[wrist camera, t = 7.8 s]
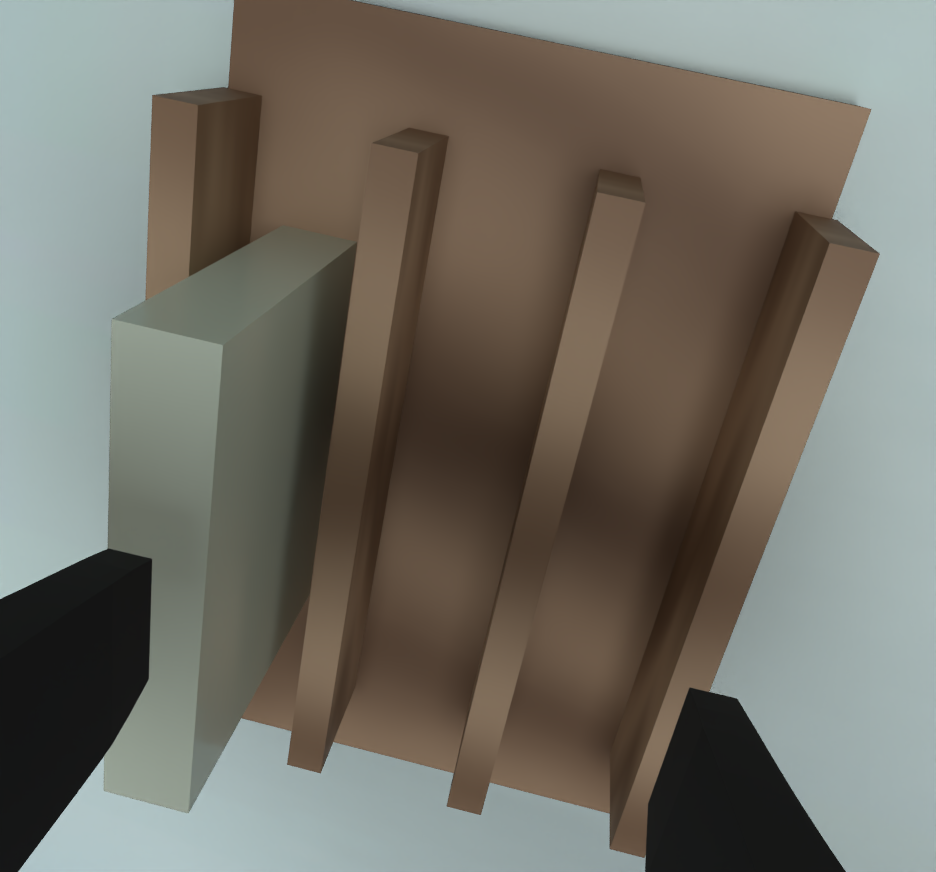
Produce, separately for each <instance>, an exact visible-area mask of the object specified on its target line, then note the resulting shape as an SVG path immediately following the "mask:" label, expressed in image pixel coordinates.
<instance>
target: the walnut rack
mask: <svg viewBox="0 0 936 872" xmlns="http://www.w3.org/2000/svg"><path fill="white" fill-rule="evenodd" d="M870 112H871V109H868V108H864V107H860V106H856V105H851V104H846V103H842V102H837V101H832V100H827V99H822V98H818V97H813V96H808V95H803V94H798V93H794V92H789V91H784V90H779V89H774V88H770V87H765V86H760V85H755V84H751V83H746V82H741V81H736V80H731V79H727V78H722V77H717V76H712V75H707V74H703V73H698V72H693V71H688V70H683V69H679V68H674V67H669V66H664V65H660V64H655V63H650V62H645V61H640V60H636V59H631V58H626V57H621V56H616V55H612V54H607V53H602V52H597V51H592V50H588V49H583V48H578V47H573V46H569V45H564V44H559V43H554V42H549V41H545V40H540V39H535V38H530V37H525V36H521V35H516V34H511V33H506V32H501V31H497V30H492V29H487V28H482V27H478V26H473V25H468V24H463V23H458V22H454V21H449V20H444V19H439V18H434V17H430V16H425V15H420V14H415V13H410V12H406V11H401V10H396V9H391V8H387V7H382V6H377V5H372V4H367V3H363V2H358V1H353V0H234V12H233V27H232V42H231V56H230V71H229V86H228V88H224V87H222V88H213V89H204V90H195V91H186V92H177V93H168V94H159V95H152V123H151V153H150V182H149V212H148V242H147V271H146V300H147V299H149V298H151V297H153V296H155V295H157V294H158V293H160V292H162V291H164V290H166V289H168V288H169V287H171V286H173V285H175V284H177V283H179V282H180V281H182V280H184V279H186V278H188V277H189V276H191V275H193V274H195V273H197V272H199V271H200V270H202V269H204V268H206V267H208V266H210V265H211V264H213V263H215V262H217V261H219V260H220V259H222V258H224V257H226V256H228V255H230V254H231V253H233V252H235V251H237V250H239V249H241V248H242V247H244V246H246V245H248V244H250V243H251V242H253V241H255V240H257V239H259V238H261V237H262V236H264V235H266V234H268V233H270V232H272V231H273V230H275V229H277V228H279V227H281V226H283V225H284V226H289V227H293V228H298V229H302V230H306V231H311V232H315V233H320V234H324V235H329V236H333V237H338V238H342V239H347V240H351V241H355V242H357V246H356V253H355V260H354V268H353V275H352V283H351V290H350V297H349V305H348V312H347V320H346V327H345V335H344V342H343V349H342V357H341V364H340V372H339V379H338V386H337V394H336V401H335V409H334V416H333V424H332V431H331V438H330V446H329V453H328V461H327V468H326V475H325V483H324V490H323V498H322V505H321V513H320V520H319V527H318V535H317V542H316V550H315V557H314V564H313V572H312V579H311V587H310V594H309V596H308V598H307V600H306V602H305V603H304V605H303V607H302V609H301V611H300V612H299V614H298V616H297V618H296V620H295V622H294V623H293V625H292V627H291V629H290V631H289V632H288V634H287V636H286V638H285V640H284V641H283V643H282V645H281V647H280V649H279V650H278V652H277V654H276V656H275V658H274V660H273V661H272V663H271V665H270V667H269V669H268V670H267V672H266V674H265V676H264V678H263V679H262V681H261V683H260V685H259V687H258V688H257V690H256V692H255V694H254V696H253V698H252V699H251V701H250V703H249V705H248V707H247V708H246V710H245V712H244V714H243V716H242V717H241V718H243V719H247V720H251V721H255V722H259V723H262V724H266V725H270V726H274V727H278V728H282V729H286V730H290V731H292V733H291V741H290V748H289V756H288V763H287V765H291V766H295V767H299V768H302V769H306V770H310V771H314V772H318V773H321V771H322V768H323V766H324V763H325V761H326V758H327V756H328V754H329V751H330V749H331V746H332V744H333V742H336V743H340V744H344V745H347V746H351V747H355V748H359V749H363V750H367V751H371V752H374V753H378V754H382V755H386V756H390V757H394V758H398V759H401V760H405V761H409V762H413V763H417V764H421V765H425V766H428V767H432V768H436V769H440V770H444V771H448V772H452V773H454V775H453V780H452V784H451V789H450V794H449V798H448V803H447V806H448V807H452V808H455V809H459V810H463V811H467V812H471V813H474V814H478V815H481V812H482V809H483V805H484V801H485V797H486V794H487V790H488V786H489V783H494V784H498V785H502V786H506V787H509V788H513V789H517V790H521V791H525V792H529V793H533V794H537V795H540V796H544V797H548V798H552V799H556V800H560V801H564V802H567V803H571V804H575V805H579V806H583V807H587V808H591V809H594V810H598V811H602V812H606V813H610V849H612V850H616V851H620V852H624V853H627V854H631V855H635V856H639V857H643V858H645V855H646V836H647V815H648V802H649V799H650V797H651V794H652V791H653V788H654V785H655V783H656V780H657V777H658V774H659V771H660V768H661V766H662V763H663V760H664V757H665V754H666V752H667V749H668V746H669V743H670V740H671V738H672V735H673V732H674V729H675V726H676V723H677V721H678V718H679V715H680V712H681V709H682V707H683V704H684V701H685V698H686V695H687V693H688V690H689V687H690V688H694V689H699V690H703V691H707V692H709V691H710V688H711V686H712V683H713V681H714V678H715V675H716V673H717V670H718V668H719V665H720V663H721V660H722V658H723V655H724V652H725V650H726V647H727V645H728V642H729V640H730V637H731V634H732V632H733V629H734V627H735V624H736V622H737V619H738V616H739V614H740V611H741V609H742V606H743V604H744V601H745V598H746V596H747V593H748V591H749V588H750V586H751V583H752V581H753V578H754V575H755V573H756V570H757V568H758V565H759V563H760V560H761V557H762V555H763V552H764V550H765V547H766V545H767V542H768V539H769V537H770V534H771V532H772V529H773V527H774V524H775V521H776V519H777V516H778V514H779V511H780V509H781V506H782V504H783V501H784V498H785V496H786V493H787V491H788V488H789V486H790V483H791V480H792V478H793V475H794V473H795V470H796V468H797V465H798V462H799V460H800V457H801V455H802V452H803V450H804V447H805V445H806V442H807V439H808V437H809V434H810V432H811V429H812V427H813V424H814V421H815V419H816V416H817V414H818V411H819V409H820V406H821V403H822V401H823V398H824V396H825V393H826V391H827V388H828V385H829V383H830V380H831V378H832V375H833V373H834V370H835V368H836V365H837V362H838V360H839V357H840V355H841V352H842V350H843V347H844V344H845V342H846V339H847V337H848V334H849V332H850V329H851V326H852V324H853V321H854V319H855V316H856V314H857V311H858V308H859V306H860V303H861V301H862V298H863V296H864V293H865V291H866V288H867V285H868V283H869V280H870V278H871V275H872V273H873V270H874V267H875V265H876V262H877V260H878V257H879V255H880V254H879V253H878V252H877V251H876V250H874V249H873V248H872V247H870V246H869V245H868V244H867V243H865V242H864V241H863V240H862V239H860V238H859V237H858V236H857V235H855V234H854V233H853V232H851V231H850V230H849V229H848V228H846V227H845V226H844V225H843V224H841V223H840V222H839V221H838V220H834V219H832V217H833V214H834V212H835V209H836V206H837V203H838V201H839V198H840V195H841V192H842V189H843V187H844V184H845V181H846V178H847V176H848V173H849V170H850V167H851V164H852V162H853V159H854V156H855V153H856V151H857V148H858V145H859V142H860V139H861V137H862V134H863V131H864V128H865V126H866V123H867V120H868V117H869V114H870Z"/></svg>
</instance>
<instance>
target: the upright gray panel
mask: <svg viewBox="0 0 936 872" xmlns="http://www.w3.org/2000/svg"><path fill="white" fill-rule="evenodd" d="M356 246H357V242H355V241H351V240H347V239H342V238H338V237H333V236H329V235H324V234H320V233H315V232H311V231H306V230H302V229H298V228H293V227H289V226H284V225H283V226H281V227H279V228H277V229H275V230H273V231H272V232H270V233H268V234H266V235H264V236H262V237H261V238H259V239H257V240H255V241H253V242H251V243H250V244H248V245H246V246H244V247H242V248H241V249H239V250H237V251H235V252H233V253H231V254H230V255H228V256H226V257H224V258H222V259H220V260H219V261H217V262H215V263H213V264H211V265H210V266H208V267H206V268H204V269H202V270H200V271H199V272H197V273H195V274H193V275H191V276H189V277H188V278H186V279H184V280H182V281H180V282H179V283H177V284H175V285H173V286H171V287H169V288H168V289H166V290H164V291H162V292H160V293H158V294H157V295H155V296H153V297H151V298H149V299H147V300H146V301H144V302H142V303H140V304H138V305H137V306H135V307H133V308H131V309H129V310H127V311H126V312H124V313H122V314H120V315H118V316H116V317H115V318H113V319H112V333H111V391H110V450H109V509H108V549H113V550H118V551H122V552H126V553H130V554H134V555H138V556H143V557H147V558H151V559H152V586H151V621H150V657H149V680H148V682H147V684H146V686H145V687H144V689H143V691H142V693H141V695H140V697H139V698H138V700H137V702H136V704H135V706H134V708H133V709H132V711H131V713H130V715H129V717H128V718H127V720H126V722H125V723H124V725H123V727H122V729H121V730H120V732H119V734H118V735H117V737H116V739H115V741H114V742H113V744H112V746H111V747H110V749H109V750H108V751H107V753H106V754H105V755H104V791H106V792H110V793H114V794H117V795H121V796H125V797H129V798H132V799H136V800H140V801H144V802H147V803H151V804H155V805H159V806H162V807H166V808H170V809H174V810H177V811H181V812H185V813H189V812H190V810H191V808H192V806H193V804H194V803H195V801H196V799H197V797H198V795H199V793H200V792H201V790H202V788H203V786H204V784H205V783H206V781H207V779H208V777H209V775H210V774H211V772H212V770H213V768H214V766H215V765H216V763H217V761H218V759H219V757H220V755H221V754H222V752H223V750H224V748H225V746H226V745H227V743H228V741H229V739H230V737H231V736H232V734H233V732H234V730H235V728H236V726H237V725H238V723H239V721H240V719H241V717H242V716H243V714H244V712H245V710H246V708H247V707H248V705H249V703H250V701H251V699H252V698H253V696H254V694H255V692H256V690H257V688H258V687H259V685H260V683H261V681H262V679H263V678H264V676H265V674H266V672H267V670H268V669H269V667H270V665H271V663H272V661H273V660H274V658H275V656H276V654H277V652H278V650H279V649H280V647H281V645H282V643H283V641H284V640H285V638H286V636H287V634H288V632H289V631H290V629H291V627H292V625H293V623H294V622H295V620H296V618H297V616H298V614H299V612H300V611H301V609H302V607H303V605H304V603H305V602H306V600H307V598H308V596H309V594H310V587H311V579H312V572H313V564H314V557H315V550H316V542H317V535H318V527H319V520H320V513H321V505H322V498H323V490H324V483H325V475H326V468H327V461H328V453H329V446H330V438H331V431H332V424H333V416H334V409H335V401H336V394H337V386H338V379H339V372H340V364H341V357H342V349H343V342H344V335H345V327H346V320H347V312H348V305H349V297H350V290H351V283H352V275H353V268H354V260H355V253H356Z"/></svg>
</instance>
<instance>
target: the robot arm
mask: <svg viewBox="0 0 936 872" xmlns="http://www.w3.org/2000/svg"><path fill="white" fill-rule="evenodd" d="M151 586H152V559H151V558H147V557H143V556H138V555H134V554H130V553H126V552H122V551H118V550H113V549H107V550H104V551H102V552H99V553H97V554H95V555H92V556H90V557H88V558H86V559H84V560H81V561H79V562H77V563H75V564H73V565H71V566H69V567H67V568H65V569H62V570H60V571H58V572H56V573H54V574H52V575H50V576H48V577H46V578H44V579H42V580H40V581H38V582H35V583H33V584H31V585H29V586H27V587H25V588H23V589H21V590H19V591H17V592H15V593H12V594H10V595H8V596H6V597H4V598H2V599H0V872H18V871H19V870H20V868H21V867H22V866H23V864H24V863H25V862H26V860H27V859H28V858H29V856H30V855H31V854H32V852H33V851H34V850H35V848H36V847H37V846H38V844H39V843H40V842H41V840H42V839H43V838H44V836H45V835H46V834H47V832H48V831H49V830H50V828H51V827H52V826H53V824H54V823H55V822H56V820H57V819H58V818H59V816H60V815H61V814H62V812H63V811H64V810H65V808H66V807H67V806H68V804H69V803H70V802H71V800H72V799H73V798H74V796H75V795H76V794H77V792H78V791H79V789H80V788H81V787H82V785H83V784H84V783H85V781H86V780H87V779H88V777H89V776H90V775H91V773H92V772H93V771H94V769H95V768H96V766H97V765H98V764H99V762H100V761H101V760H102V758H103V757H104V755H105V754H106V753H107V751H108V750H109V749H110V747H111V746H112V744H113V742H114V741H115V739H116V737H117V735H118V734H119V732H120V730H121V729H122V727H123V725H124V723H125V722H126V720H127V718H128V717H129V715H130V713H131V711H132V709H133V708H134V706H135V704H136V702H137V700H138V698H139V697H140V695H141V693H142V691H143V689H144V687H145V686H146V684H147V682H148V680H149V657H150V621H151ZM645 872H846V871H845V870H844V869H843V867H842V866H841V864H840V863H839V861H838V860H837V858H836V857H835V855H834V854H833V853H832V851H831V850H830V848H829V847H828V845H827V844H826V842H825V841H824V839H823V837H822V836H821V834H820V833H819V831H818V830H817V828H816V827H815V825H814V824H813V822H812V821H811V819H810V818H809V816H808V814H807V813H806V811H805V810H804V808H803V807H802V805H801V804H800V802H799V800H798V799H797V797H796V796H795V794H794V792H793V791H792V789H791V787H790V786H789V784H788V783H787V781H786V779H785V778H784V776H783V774H782V773H781V771H780V769H779V768H778V766H777V764H776V763H775V761H774V759H773V758H772V756H771V754H770V753H769V751H768V749H767V748H766V746H765V744H764V743H763V741H762V739H761V738H760V736H759V734H758V733H757V731H756V729H755V728H754V726H753V724H752V722H751V721H750V719H749V717H748V716H747V714H746V713H745V711H744V709H743V708H742V706H741V704H740V703H739V701H738V699H736V698H732V697H728V696H724V695H719V694H715V693H711V692H707V691H703V690H699V689H694V688H690V687H689V690H688V693H687V695H686V698H685V701H684V704H683V707H682V709H681V712H680V715H679V718H678V721H677V723H676V726H675V729H674V732H673V735H672V738H671V740H670V743H669V746H668V749H667V752H666V754H665V757H664V760H663V763H662V766H661V768H660V771H659V774H658V777H657V780H656V783H655V785H654V788H653V791H652V794H651V797H650V799H649V802H648V815H647V836H646V866H645Z"/></svg>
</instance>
